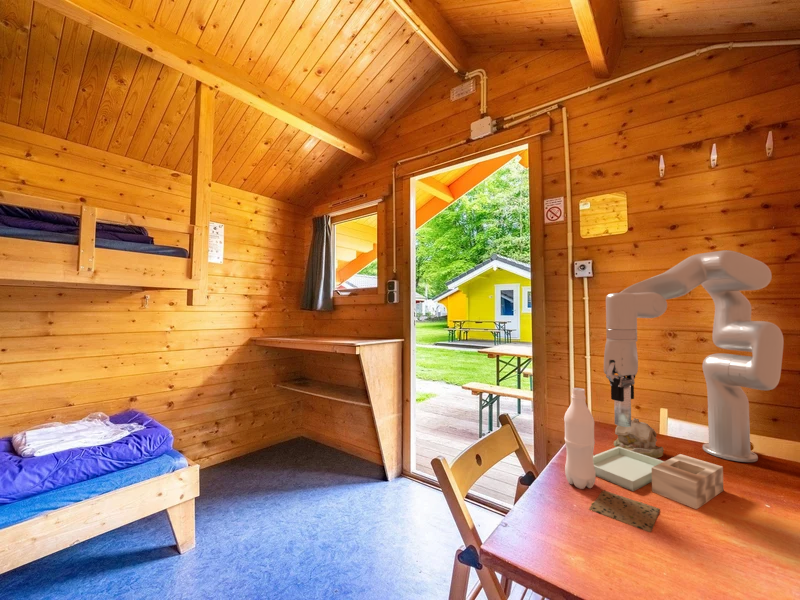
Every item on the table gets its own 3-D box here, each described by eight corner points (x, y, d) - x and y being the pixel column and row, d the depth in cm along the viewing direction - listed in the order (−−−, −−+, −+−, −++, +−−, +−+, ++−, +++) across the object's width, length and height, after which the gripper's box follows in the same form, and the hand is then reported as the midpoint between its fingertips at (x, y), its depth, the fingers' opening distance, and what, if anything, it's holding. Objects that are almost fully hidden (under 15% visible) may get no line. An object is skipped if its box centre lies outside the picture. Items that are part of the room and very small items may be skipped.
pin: (617, 420, 102) (617, 376, 103) (638, 425, 98) (638, 379, 98) (607, 423, 100) (606, 378, 100) (628, 429, 95) (627, 381, 95)
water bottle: (600, 492, 87) (598, 392, 87) (569, 489, 88) (567, 391, 89) (590, 479, 94) (588, 386, 94) (562, 476, 95) (560, 385, 96)
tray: (617, 454, 109) (617, 446, 110) (670, 472, 97) (669, 463, 97) (580, 469, 99) (580, 460, 99) (633, 491, 87) (632, 481, 87)
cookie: (661, 510, 80) (661, 506, 80) (651, 535, 71) (650, 530, 71) (603, 491, 88) (603, 487, 88) (587, 511, 80) (587, 507, 80)
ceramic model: (606, 446, 117) (605, 416, 117) (622, 439, 123) (621, 410, 123) (654, 461, 105) (654, 428, 105) (670, 452, 111) (669, 421, 111)
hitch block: (680, 475, 95) (680, 453, 95) (723, 490, 87) (722, 466, 88) (652, 491, 87) (651, 467, 87) (696, 509, 79) (695, 482, 80)
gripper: (623, 333, 107) (624, 393, 106) (591, 335, 98) (592, 400, 98) (650, 335, 100) (652, 398, 100) (619, 337, 92) (620, 406, 91)
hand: (622, 398), depth 99 cm, fingers closed on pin, 4 cm apart
